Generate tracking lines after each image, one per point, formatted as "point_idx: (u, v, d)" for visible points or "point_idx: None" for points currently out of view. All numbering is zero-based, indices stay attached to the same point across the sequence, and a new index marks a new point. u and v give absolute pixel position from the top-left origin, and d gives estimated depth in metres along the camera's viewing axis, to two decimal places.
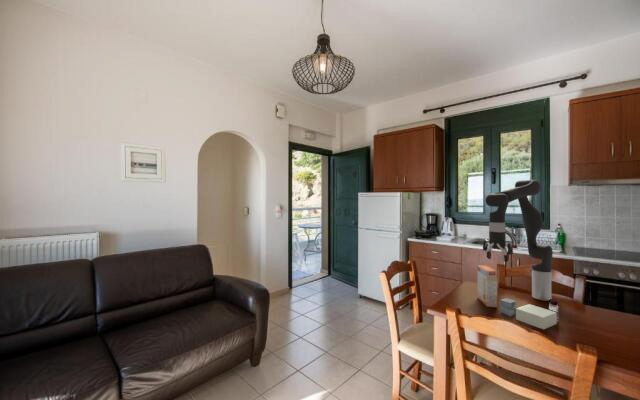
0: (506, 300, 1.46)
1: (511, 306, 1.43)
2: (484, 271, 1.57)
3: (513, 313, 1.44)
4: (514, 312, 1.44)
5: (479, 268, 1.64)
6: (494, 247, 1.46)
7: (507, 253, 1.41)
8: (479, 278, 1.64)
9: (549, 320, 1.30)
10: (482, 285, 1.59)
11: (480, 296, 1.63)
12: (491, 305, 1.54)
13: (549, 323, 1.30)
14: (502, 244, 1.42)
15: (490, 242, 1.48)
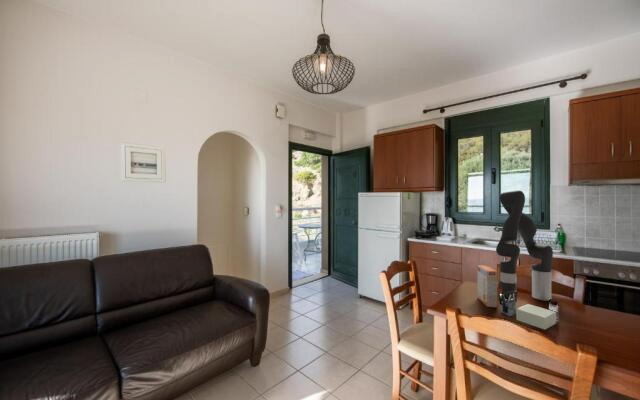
0: None
1: (511, 306, 1.43)
2: (484, 271, 1.57)
3: (513, 313, 1.44)
4: (514, 312, 1.44)
5: (479, 268, 1.64)
6: None
7: None
8: (479, 278, 1.64)
9: (549, 320, 1.30)
10: (482, 285, 1.59)
11: (480, 296, 1.63)
12: (491, 305, 1.54)
13: (549, 323, 1.30)
14: (513, 293, 1.46)
15: (506, 295, 1.44)
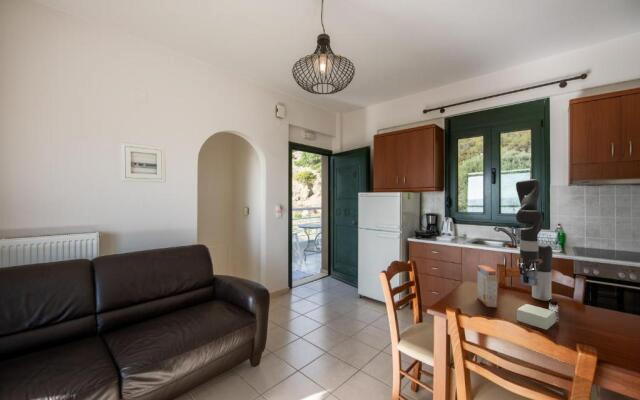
0: None
1: (532, 275, 1.35)
2: (484, 271, 1.57)
3: (534, 283, 1.36)
4: (536, 282, 1.36)
5: (479, 268, 1.64)
6: (531, 267, 1.37)
7: None
8: (479, 278, 1.64)
9: (550, 320, 1.31)
10: (482, 285, 1.59)
11: (480, 296, 1.63)
12: (491, 305, 1.54)
13: (550, 323, 1.31)
14: None
15: (527, 264, 1.35)
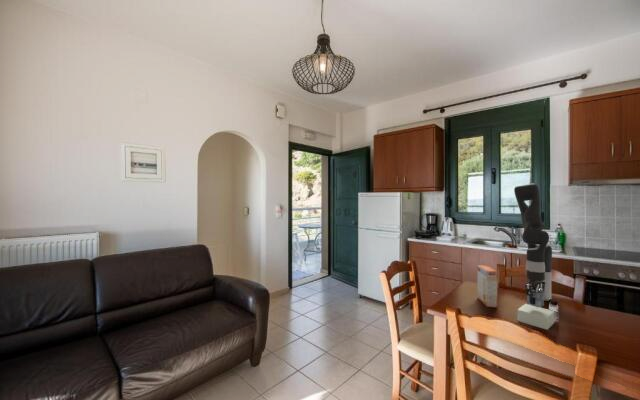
0: None
1: (539, 297, 1.33)
2: (484, 271, 1.57)
3: (541, 304, 1.34)
4: (542, 303, 1.34)
5: (479, 268, 1.64)
6: None
7: None
8: (479, 278, 1.64)
9: (550, 319, 1.31)
10: (482, 285, 1.59)
11: (480, 296, 1.63)
12: (491, 305, 1.54)
13: (550, 323, 1.31)
14: None
15: (534, 285, 1.34)
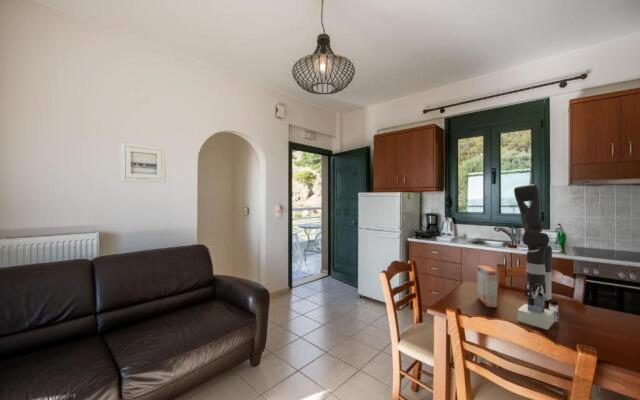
0: (534, 296, 1.36)
1: (540, 302, 1.33)
2: (484, 271, 1.57)
3: (542, 310, 1.34)
4: (543, 309, 1.34)
5: (479, 268, 1.64)
6: None
7: None
8: (479, 278, 1.64)
9: (550, 319, 1.31)
10: (482, 285, 1.59)
11: (480, 296, 1.63)
12: (491, 305, 1.54)
13: (550, 323, 1.31)
14: (541, 285, 1.36)
15: (534, 286, 1.34)
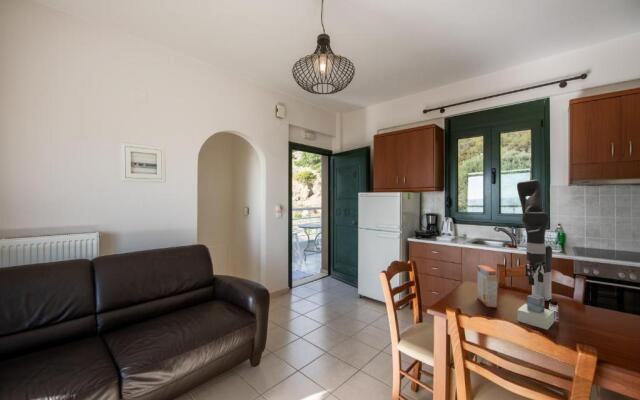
0: (533, 296, 1.36)
1: (539, 302, 1.33)
2: (484, 271, 1.57)
3: (541, 310, 1.34)
4: (542, 309, 1.34)
5: (479, 268, 1.64)
6: None
7: None
8: (479, 278, 1.64)
9: (550, 319, 1.31)
10: (482, 285, 1.59)
11: (480, 296, 1.63)
12: (491, 305, 1.54)
13: (550, 323, 1.31)
14: (541, 264, 1.36)
15: (535, 266, 1.33)
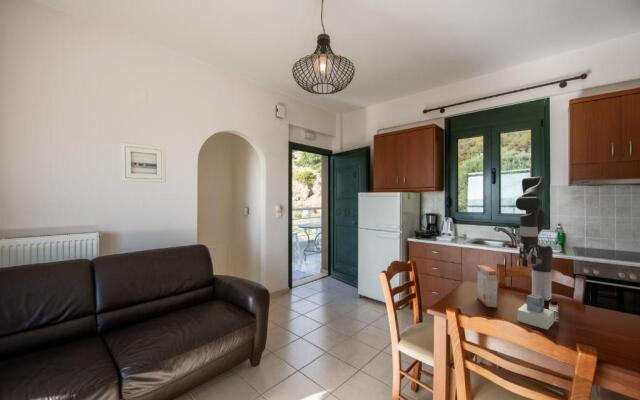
0: (533, 296, 1.36)
1: (539, 302, 1.33)
2: (484, 271, 1.57)
3: (541, 310, 1.34)
4: (542, 309, 1.34)
5: (479, 268, 1.64)
6: None
7: None
8: (479, 278, 1.64)
9: (550, 319, 1.31)
10: (482, 285, 1.59)
11: (480, 296, 1.63)
12: (491, 305, 1.54)
13: (550, 323, 1.31)
14: (534, 247, 1.42)
15: (528, 248, 1.39)
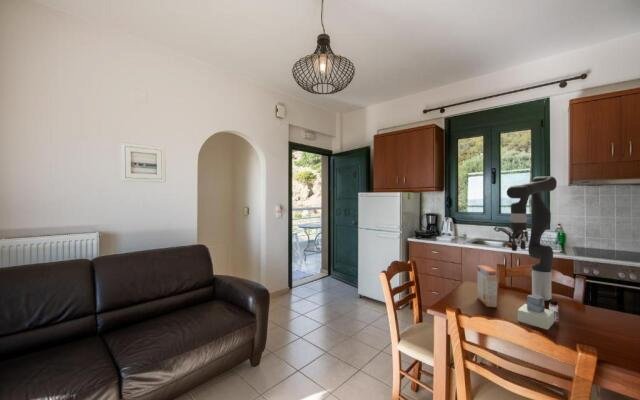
0: (533, 296, 1.36)
1: (539, 302, 1.33)
2: (484, 271, 1.57)
3: (541, 310, 1.34)
4: (542, 309, 1.34)
5: (479, 268, 1.64)
6: None
7: None
8: (479, 278, 1.64)
9: (550, 319, 1.31)
10: (482, 285, 1.59)
11: (480, 296, 1.63)
12: (491, 305, 1.54)
13: (550, 323, 1.31)
14: (523, 233, 1.52)
15: (517, 234, 1.49)
